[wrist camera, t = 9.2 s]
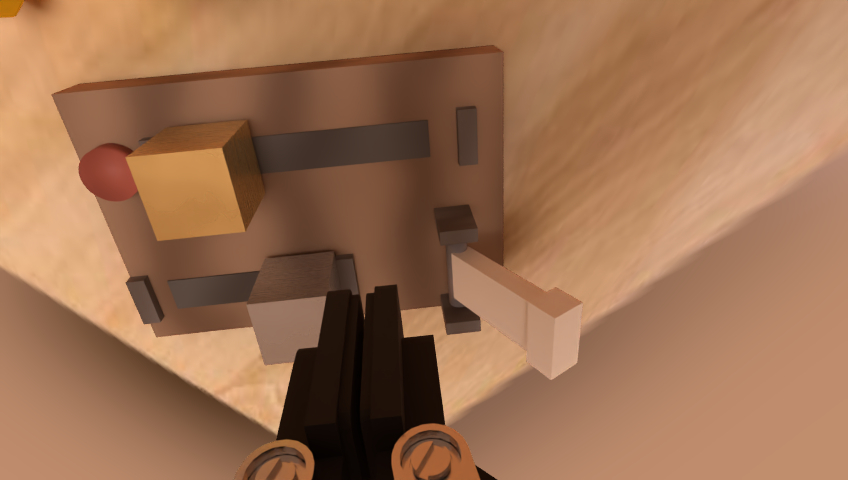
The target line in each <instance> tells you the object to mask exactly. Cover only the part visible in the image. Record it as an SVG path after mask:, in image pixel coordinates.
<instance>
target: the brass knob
mask: <svg viewBox="0 0 848 480" xmlns="http://www.w3.org/2000/svg"><path fill="white" fill-rule="evenodd" d="M125 158H126V160H127V163H128V166H129V168H130V171H131V173H132V176H133V179H134V181H135V184H136V186H137V189H138V192H139V194H140V197H141V199H142V202H143V205H144V207H145V210H146V212H147V215H148V218H149V220H150V223H151V225H152V228H153V231H154V233H155V236H156V238H157V241H162V240H172V239H181V238H191V237H201V236H210V235H220V234H230V233H239V232H246V230H247V228H248V226H249V224H250V222H251V220H252V218H253V217H254V215H255V213H256V211H257V209H258V207H259V205H260V203H261V201H262V199H263V197H264V195H265V189H264V186H263V182H262V178H261V174H260V170H259V166H258V162H257V158H256V154H255V150H254V146H253V142H252V138H251V134H250V130H249V126H248V122H247V120H238V121H228V122H218V123H207V124H197V125H187V126H176V127H166V128H165V129H163V130H162V131H161V132H159V133H158V134H156V135H155V136H154V137H152V138H151V139H150V140H148V141H147V142H146V143H144V144H143V145H141V146H140V147H139V148H137V149H136V150H135V151H133V152H132V153H131V154H129V155H128V156H127V157H125Z"/></svg>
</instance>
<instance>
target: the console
mask: <svg viewBox="0 0 848 480" xmlns="http://www.w3.org/2000/svg"><path fill="white" fill-rule="evenodd" d="M51 95H52V97H53V99H54V102H55V104H56V106H57V109H58V111H59V113H60V116H61V118H62V120H63V123H64V125H65V127H66V129H67V132H68V134H69V136H70V139H71V141H72V143H73V146H74V148H75V150H76V153H77V155H78V157H79V160H80V163H79V175H80V178H81V180H82V182H83V184H84V185H85V186H86V188H87V189H88V190H89V191H90V192H92V193H93V194H94V195H95V197H96V199H97V201H98V203H99V206H100V208H101V210H102V213H103V215H104V217H105V220H106V222H107V224H108V227H109V229H110V231H111V234H112V236H113V238H114V240H115V243H116V245H117V247H118V250H119V252H120V254H121V257H122V259H123V261H124V264H125V266H126V268H127V271H128V273H129V275H130V278H129V279H128V281H127V282H126V285H127V287H128V289H129V291H130V294H131V296H132V298H133V300H134V303H135V305H136V307H137V310H138V312H139V314H140V316H141V319H142V321H143V323H144V324H151V326H152V328H153V331H154V333H155V335H156V337H162V336H171V335H180V334H190V333H199V332H208V331H217V330H226V329H235V328H244V327H253V325H252V322H251V318H250V315H249V312H248V309H247V305H246V304H247V302H248V299H249V297H250V294H251V292H252V289H253V287H254V284H255V282H256V279H257V277H258V274H259V272H260V269H261V267H262V264H263V262H264V259H266V258H276V257H285V256H295V255H304V254H314V253H323V252H333V251H334V254H335V262H336V267H337V273H338V278H339V283H340V288H341V290H346V289H351V291H352V295H355V294H360V296H361V301H362V307H363V313H364V314H365V306H366V294H367V293H374V288H375V286H385V285H394V284H397V287H398V295H399V303H400V310H408V309H417V308H426V307H435V306H442V311H443V317H444V322H445V328H446V333H447V335H450V334H459V333H468V332H476V331H481V323H480V317H479V316H478V315H477V314H475V313H474V312H473V311H471V310H470V309H469V308H467V307H466V306H464V307H454V306H452V305H451V304H450V303H449V289H448V273H447V257H446V245H453V244H462V243H467V247H468V246H469V247H470V248H472V249H474V250H475V251H477V252H479V253H481V254H482V255H484V256H486V257H487V258H489V259H491V260H492V261H494V262H496V263H498V264H499V265H501V266H503V51H501V50H500V49H498V48H497V47H495V46H493V45H492V46H481V47H470V48H459V49H449V50H438V51H427V52H417V53H406V54H395V55H384V56H374V57H363V58H352V59H342V60H331V61H320V62H309V63H299V64H288V65H277V66H267V67H256V68H245V69H235V70H224V71H213V72H202V73H192V74H181V75H170V76H160V77H149V78H138V79H127V80H117V81H106V82H95V83H85V84H78V85H75V86H72V87H70V88H67V89H64V90H62V91H59V92H56V93H54V94H51ZM238 120H247V122H248V126H249V130H250V134H251V138H252V142H253V146H254V150H255V154H256V158H257V162H258V166H259V170H260V174H261V178H262V182H263V186H264V189H265V195H264V197H263V199H262V201H261V203H260V205H259V207H258V209H257V211H256V213H255V215H254V217H253V218H252V220H251V222H250V224H249V226H248V228H247V230H246V232H239V233H230V234H220V235H210V236H201V237H191V238H181V239H172V240H162V241H157V238H156V236H155V233H154V231H153V228H152V225H151V223H150V220H149V218H148V215H147V212H146V210H145V207H144V205H143V202H142V199H141V197H140V194H139V192H138V189H137V186H136V184H135V181H134V179H133V176H132V173H131V171H130V168H129V166H128V163H127V160H126V158H125V157H127V156H128V155H129V154H131V153H132V152H133V151H135V150H136V149H137V148H139V147H140V146H141V145H143V144H144V143H146V142H147V141H148V140H150V139H151V138H152V137H154V136H155V135H156V134H158V133H159V132H161V131H162V130H163V129H165V128H166V127H176V126H187V125H197V124H207V123H218V122H228V121H238Z"/></svg>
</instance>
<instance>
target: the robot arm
mask: <svg viewBox="0 0 848 480" xmlns="http://www.w3.org/2000/svg"><path fill="white" fill-rule="evenodd" d="M233 480H497V479H495V478H494V477H492V476H491V475H489V474H488V473H486V472H485V471H483V470H482V469H480V468H479V467H477V466H476V465H475V463H474V461H473V458H472V455H471V452H470V450H469V447H468V445H467V443H466V441H465V439H464V438H463V437H462V436H461V435H460V434H459V433H458V432H457V431H456V430H454V429H452V428H450V427H448V426H446V425H445V420H444V413H443V405H442V397H441V390H440V382H439V375H438V367H437V359H436V352H435V344H434V337H433V335H426V336H417V337H407V338H404V335H403V327H402V319H401V311H400V303H399V295H398V287H397V284H394V285H385V286H375V288H374V293H367V294H366V306H365V319H364V313H363V307H362V301H361V296H360V294H355V295H352V291H351V289H346V290H336V291H328V292H327V295H326V301H325V307H324V312H323V318H322V324H321V329H320V335H319V341H318V346H317V347H312V348H303V349H298V351H297V353H296V356H295V360H294V364H293V369H292V373H291V377H290V382H289V386H288V391H287V395H286V399H285V404H284V408H283V413H282V417H281V421H280V426H279V430H278V435H277V439H276V441H273V442H271V443H268V444H265V445H263V446H262V447H260V448H258V449H257V450H255V451H253V452H252V453H251V454H250V455H249V456H248V457H247V458H246V459H245V460H244V461H243V463H242V464H241V466H240V468H239V469H238V471H237V472H236V474H235V477H234V479H233Z"/></svg>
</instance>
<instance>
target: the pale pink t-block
mask: <svg viewBox="0 0 848 480" xmlns="http://www.w3.org/2000/svg"><path fill="white" fill-rule="evenodd" d="M446 257H447V273H448V289H449V303H450V304H451V305H452V306H454V307H464V306H466V307H467V308H469V309H470V310H471V311H473V312H474V313H475V314H477V315H478V316H479V317H481V318H482V319H484V320H485V321H486V322H488V323H489V324H490V325H492V326H493V327H494V328H496V329H497V330H499V331H500V332H501V333H503V334H504V335H505V336H507V337H508V338H509V339H511V340H512V341H514V342H515V343H516V344H518V345H519V346H520V347H522V348H523V349H525V350H526V351H527V358H526V362H528V363H529V364H530V365H532V366H533V367H534V368H536V369H537V370H538V371H540V372H541V373H542V374H544V375H545V376H546V377H548V378H549V379H550V380H552V379H554V378H555V377H556V376H558V375H559V374H561V373H563V372H564V371H566V370H567V369H569V368H570V367H572V366H573V365H575V364H576V363H577V360H578V349H579V339H580V329H581V318H582V308H583V302H581V301H579V300H578V299H576V298H574V297H572V296H571V295H569V294H567V293H565V292H564V291H562V290H560V289H558V288H556V287H555V288H553V289H551V290H549V291H548V292H545V291H544V290H542V289H540V288H539V287H537V286H535V285H533V284H532V283H530V282H528V281H527V280H525V279H523V278H522V277H520V276H518V275H516V274H515V273H513V272H511V271H510V270H508V269H506V268H504V267H503V266H501V265H499V264H498V263H496V262H494V261H492V260H491V259H489V258H487V257H486V256H484V255H482V254H481V253H479V252H477V251H475V250H474V249H472V248H470V247H469V246H468V247H467V243H462V244H453V245H446Z"/></svg>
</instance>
